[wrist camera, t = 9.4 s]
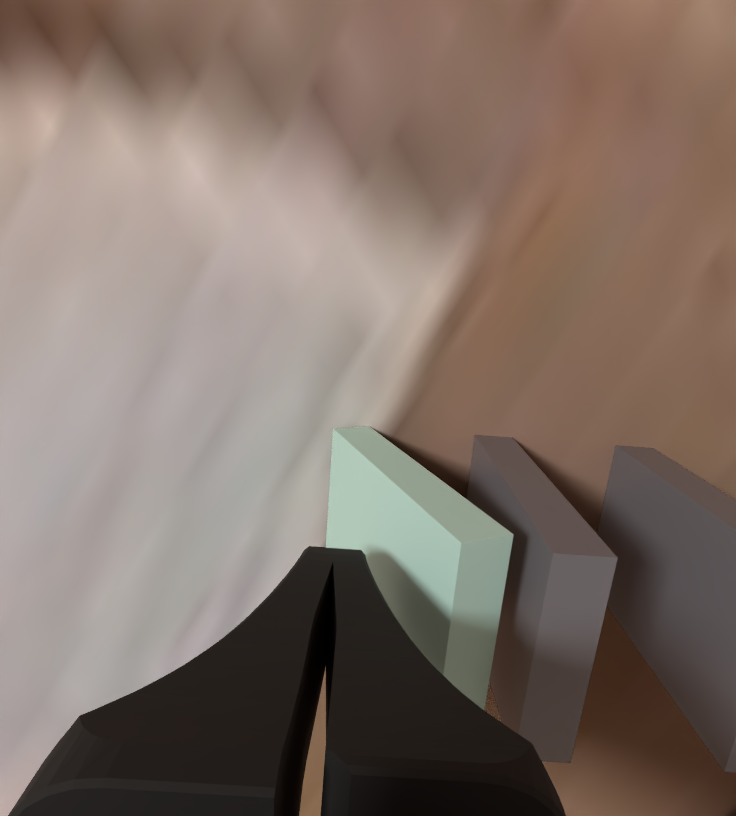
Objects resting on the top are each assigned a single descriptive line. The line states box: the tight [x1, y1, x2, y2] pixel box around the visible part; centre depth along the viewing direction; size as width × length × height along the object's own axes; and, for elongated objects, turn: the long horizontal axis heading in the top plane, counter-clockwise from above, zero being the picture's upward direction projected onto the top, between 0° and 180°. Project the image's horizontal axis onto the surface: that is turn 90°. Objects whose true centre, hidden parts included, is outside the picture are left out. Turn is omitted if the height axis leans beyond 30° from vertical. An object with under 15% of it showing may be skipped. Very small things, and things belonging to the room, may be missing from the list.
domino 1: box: [466, 435, 618, 763], centre depth 13 cm, size 1×5×7 cm, turn 175°
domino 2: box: [597, 446, 736, 773], centre depth 14 cm, size 1×5×7 cm, turn 175°
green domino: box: [326, 427, 514, 710], centre depth 13 cm, size 1×5×7 cm, turn 176°
